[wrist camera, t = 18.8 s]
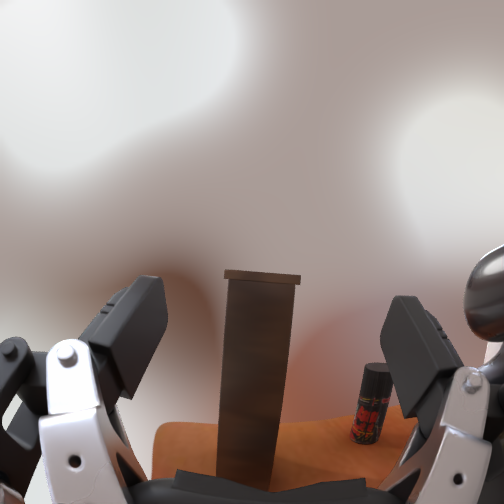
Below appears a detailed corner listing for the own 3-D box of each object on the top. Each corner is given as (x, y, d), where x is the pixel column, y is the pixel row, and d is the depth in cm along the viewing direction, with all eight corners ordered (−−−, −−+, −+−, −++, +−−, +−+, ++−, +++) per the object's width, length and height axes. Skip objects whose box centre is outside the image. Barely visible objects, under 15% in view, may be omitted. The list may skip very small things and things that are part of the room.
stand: (271, 453, 37) (291, 276, 40) (271, 493, 26) (301, 275, 29) (223, 448, 38) (236, 271, 40) (211, 487, 27) (224, 269, 29)
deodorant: (345, 431, 44) (360, 363, 45) (372, 428, 44) (387, 361, 45) (355, 445, 38) (372, 372, 39) (383, 441, 38) (402, 370, 39)
